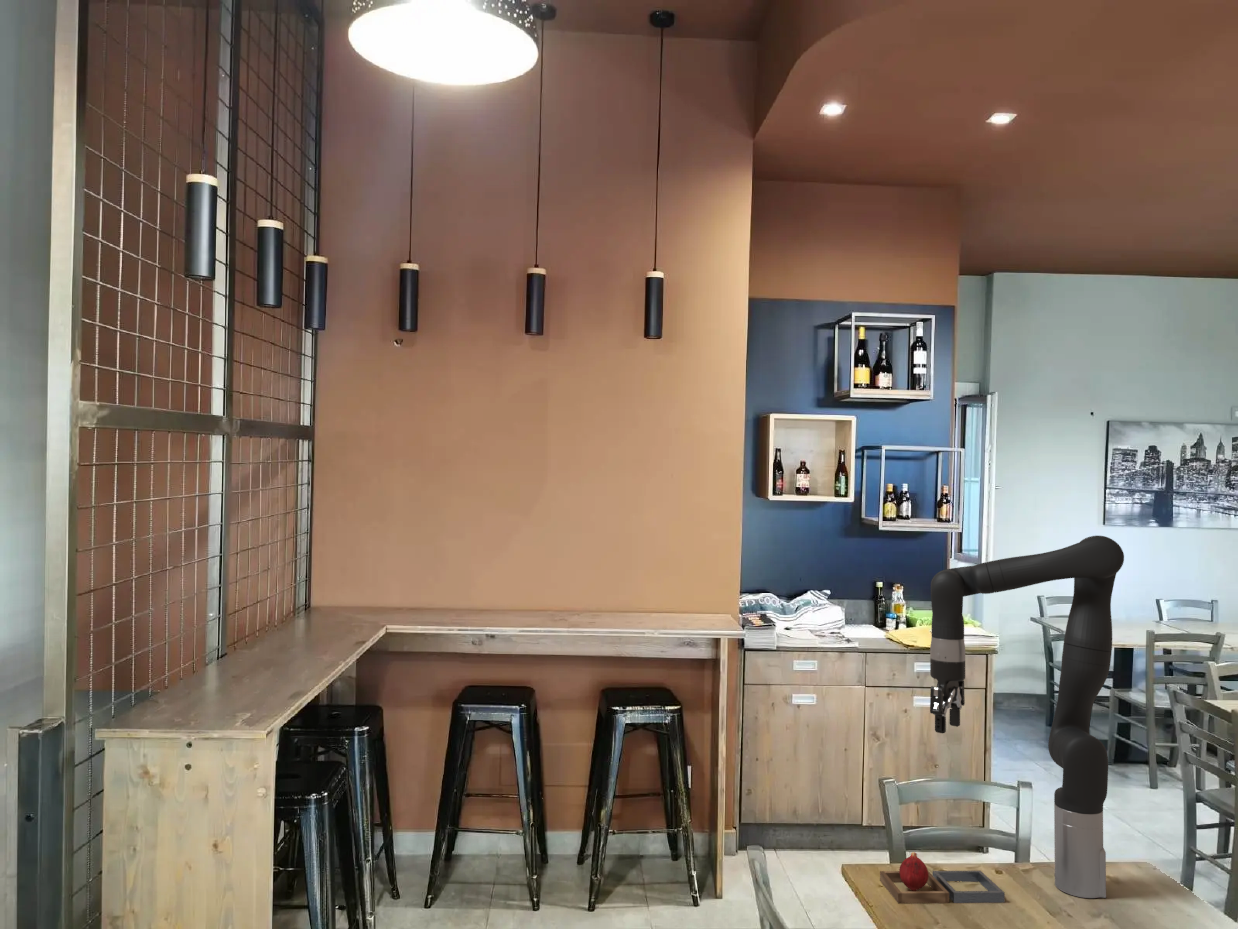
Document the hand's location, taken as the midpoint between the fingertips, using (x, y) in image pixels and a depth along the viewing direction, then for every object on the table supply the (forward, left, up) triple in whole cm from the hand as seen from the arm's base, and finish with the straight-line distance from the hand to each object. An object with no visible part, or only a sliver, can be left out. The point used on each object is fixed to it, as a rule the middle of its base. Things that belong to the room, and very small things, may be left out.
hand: (947, 729), depth 198 cm
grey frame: (-3, +14, -30) cm, 33 cm away
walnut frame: (+7, +18, -30) cm, 36 cm away
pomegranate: (+7, +18, -30) cm, 36 cm away
